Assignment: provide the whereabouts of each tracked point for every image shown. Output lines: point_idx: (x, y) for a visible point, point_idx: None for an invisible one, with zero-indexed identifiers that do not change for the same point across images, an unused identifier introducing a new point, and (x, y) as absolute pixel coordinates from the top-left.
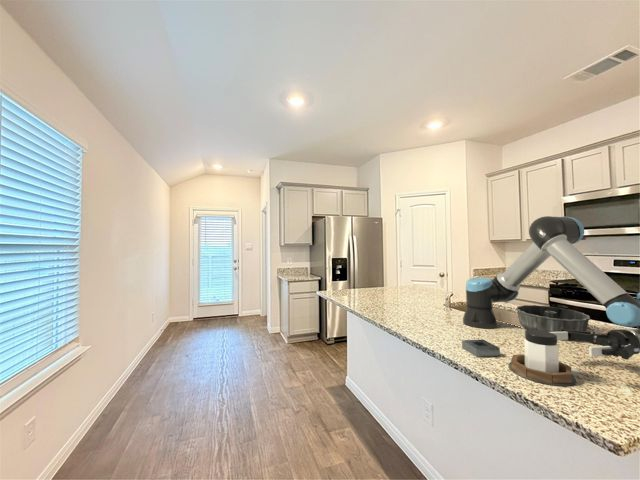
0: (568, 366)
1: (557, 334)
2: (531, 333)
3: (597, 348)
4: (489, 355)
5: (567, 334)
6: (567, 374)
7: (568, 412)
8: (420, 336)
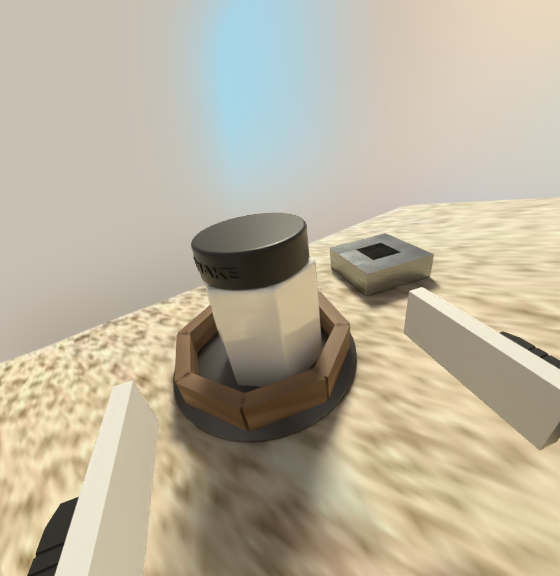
0: (245, 402)
1: (450, 333)
2: (242, 219)
3: (103, 437)
4: (348, 279)
5: (558, 412)
6: (175, 369)
7: (79, 343)
8: (414, 216)
